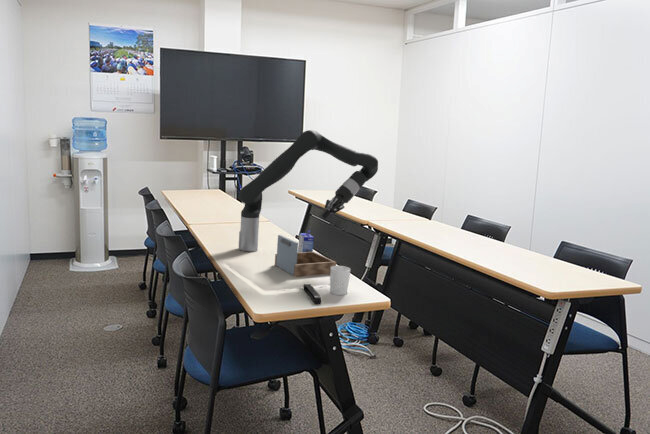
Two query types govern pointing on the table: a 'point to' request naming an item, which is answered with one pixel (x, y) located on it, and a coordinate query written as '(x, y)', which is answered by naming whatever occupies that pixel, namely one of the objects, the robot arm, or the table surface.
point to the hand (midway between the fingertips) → (322, 217)
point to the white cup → (339, 279)
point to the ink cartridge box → (305, 242)
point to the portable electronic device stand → (312, 294)
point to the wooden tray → (311, 264)
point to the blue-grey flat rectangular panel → (286, 254)
